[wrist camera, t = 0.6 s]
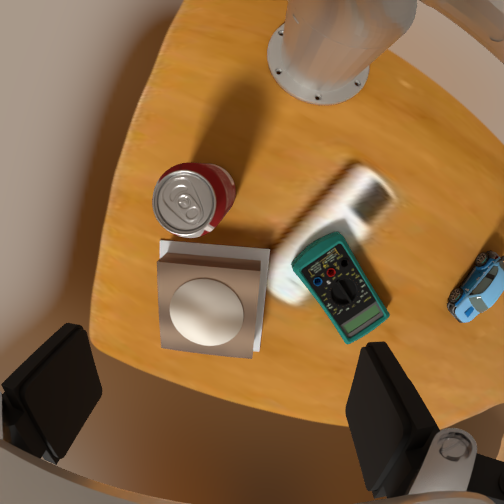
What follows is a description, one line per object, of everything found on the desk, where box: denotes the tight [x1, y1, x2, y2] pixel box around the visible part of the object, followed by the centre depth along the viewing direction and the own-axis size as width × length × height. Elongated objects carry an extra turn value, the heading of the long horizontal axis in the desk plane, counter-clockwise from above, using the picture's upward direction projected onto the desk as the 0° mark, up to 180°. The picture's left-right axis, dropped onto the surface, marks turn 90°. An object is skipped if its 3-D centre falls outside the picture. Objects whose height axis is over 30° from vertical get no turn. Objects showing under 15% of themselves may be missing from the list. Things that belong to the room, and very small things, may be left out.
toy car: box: [447, 251, 504, 323], centre depth 35 cm, size 6×12×6 cm, turn 142°
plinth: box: [157, 252, 261, 359], centre depth 38 cm, size 12×12×4 cm
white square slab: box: [160, 240, 270, 352], centre depth 40 cm, size 15×14×1 cm
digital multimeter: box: [291, 232, 390, 344], centre depth 38 cm, size 7×15×3 cm, turn 37°
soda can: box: [152, 163, 236, 238], centre depth 30 cm, size 7×7×12 cm
